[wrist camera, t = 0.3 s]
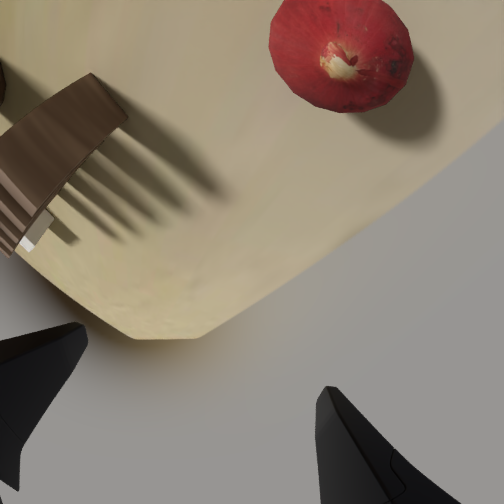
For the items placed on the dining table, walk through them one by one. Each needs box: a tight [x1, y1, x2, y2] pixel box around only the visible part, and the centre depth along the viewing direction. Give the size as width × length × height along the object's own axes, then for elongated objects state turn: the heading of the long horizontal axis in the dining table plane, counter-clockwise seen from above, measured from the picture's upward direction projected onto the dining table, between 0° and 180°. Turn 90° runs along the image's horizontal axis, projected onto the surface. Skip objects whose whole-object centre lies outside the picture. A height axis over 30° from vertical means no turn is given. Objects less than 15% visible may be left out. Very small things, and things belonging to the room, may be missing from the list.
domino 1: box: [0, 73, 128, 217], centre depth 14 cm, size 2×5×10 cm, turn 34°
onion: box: [269, 0, 414, 113], centre depth 9 cm, size 6×6×8 cm
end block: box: [19, 209, 55, 252], centre depth 30 cm, size 5×9×5 cm, turn 33°
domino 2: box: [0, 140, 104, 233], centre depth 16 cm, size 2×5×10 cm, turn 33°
